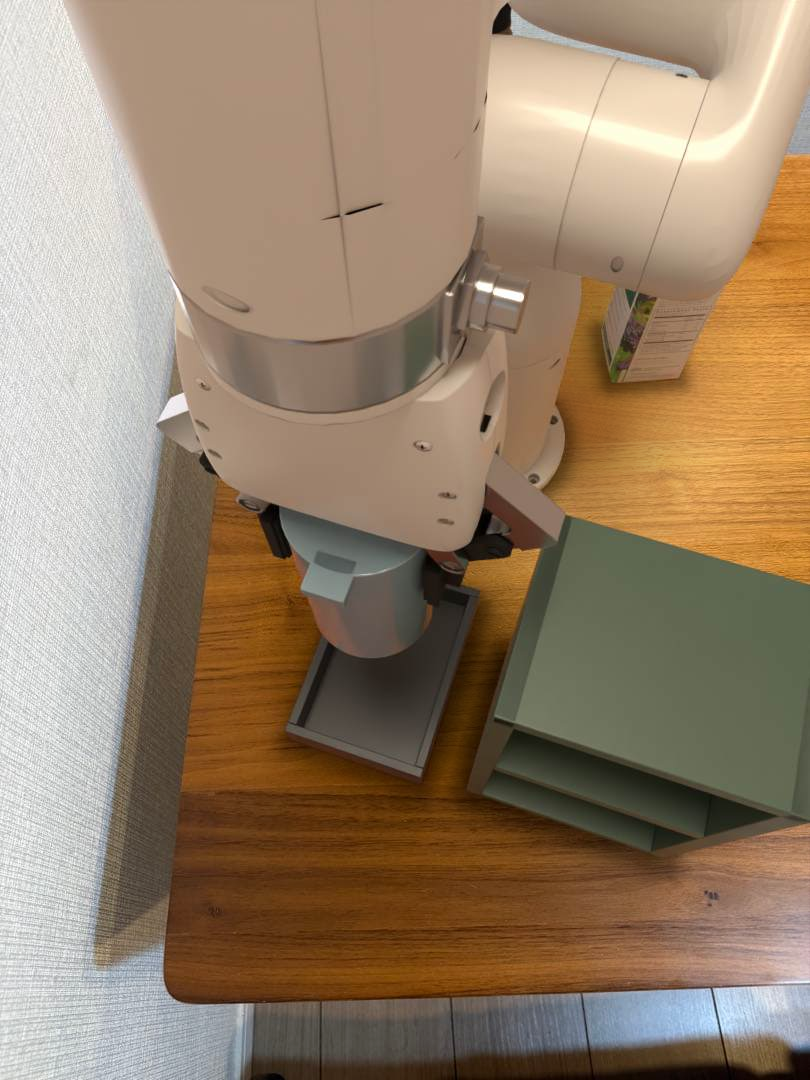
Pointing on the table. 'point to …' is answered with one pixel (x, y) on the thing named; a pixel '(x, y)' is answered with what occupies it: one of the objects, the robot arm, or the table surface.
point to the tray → (386, 694)
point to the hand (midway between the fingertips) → (366, 551)
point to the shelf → (652, 696)
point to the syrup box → (651, 334)
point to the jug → (358, 585)
